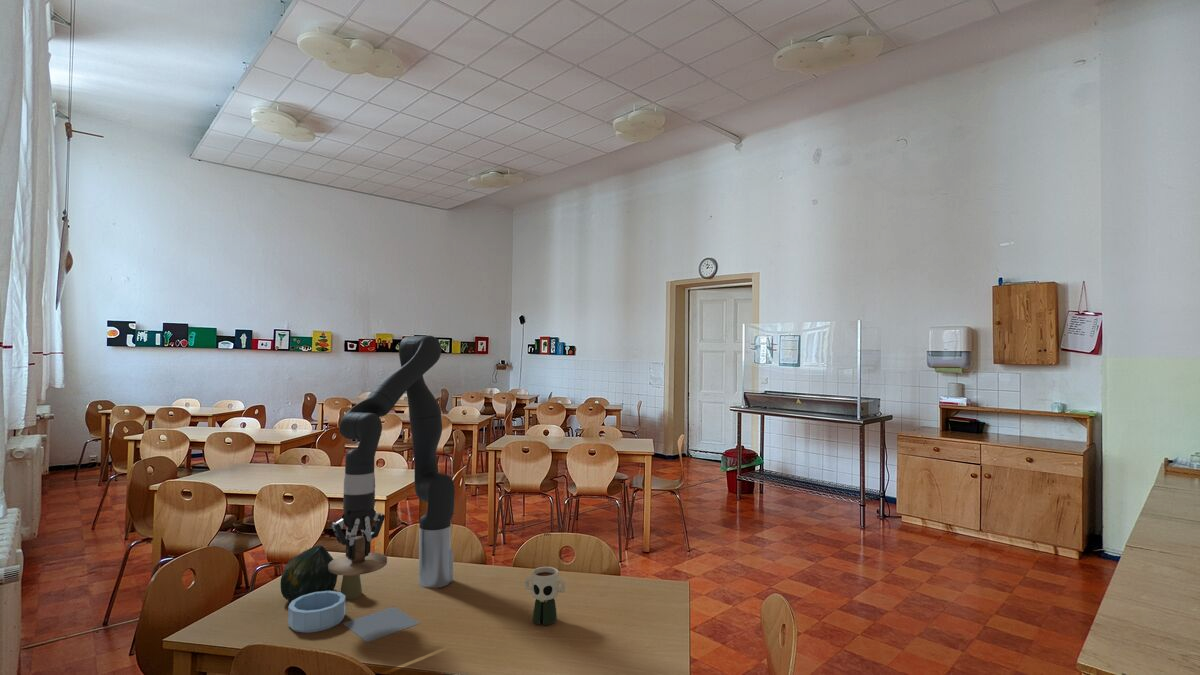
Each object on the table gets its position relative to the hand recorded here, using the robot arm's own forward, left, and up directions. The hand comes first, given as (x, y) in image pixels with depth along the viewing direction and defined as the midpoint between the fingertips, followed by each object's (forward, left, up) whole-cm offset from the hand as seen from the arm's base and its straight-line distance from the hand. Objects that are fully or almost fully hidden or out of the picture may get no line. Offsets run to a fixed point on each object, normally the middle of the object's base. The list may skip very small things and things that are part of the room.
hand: (358, 557), depth 152 cm
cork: (-6, -19, -18) cm, 26 cm away
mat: (-4, +4, -17) cm, 18 cm away
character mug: (-35, +32, -18) cm, 51 cm away
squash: (+2, -28, -18) cm, 33 cm away
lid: (0, 0, -2) cm, 2 cm away
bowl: (+7, -9, -17) cm, 20 cm away
